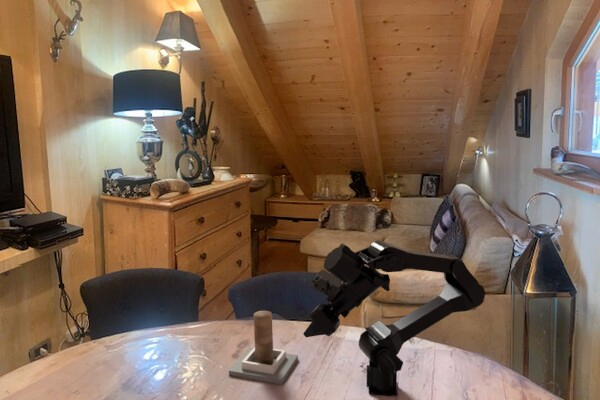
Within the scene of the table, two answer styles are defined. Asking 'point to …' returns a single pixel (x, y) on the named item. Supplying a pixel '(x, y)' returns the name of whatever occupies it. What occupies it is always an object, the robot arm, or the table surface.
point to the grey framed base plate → (264, 366)
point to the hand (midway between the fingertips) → (312, 327)
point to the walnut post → (263, 337)
